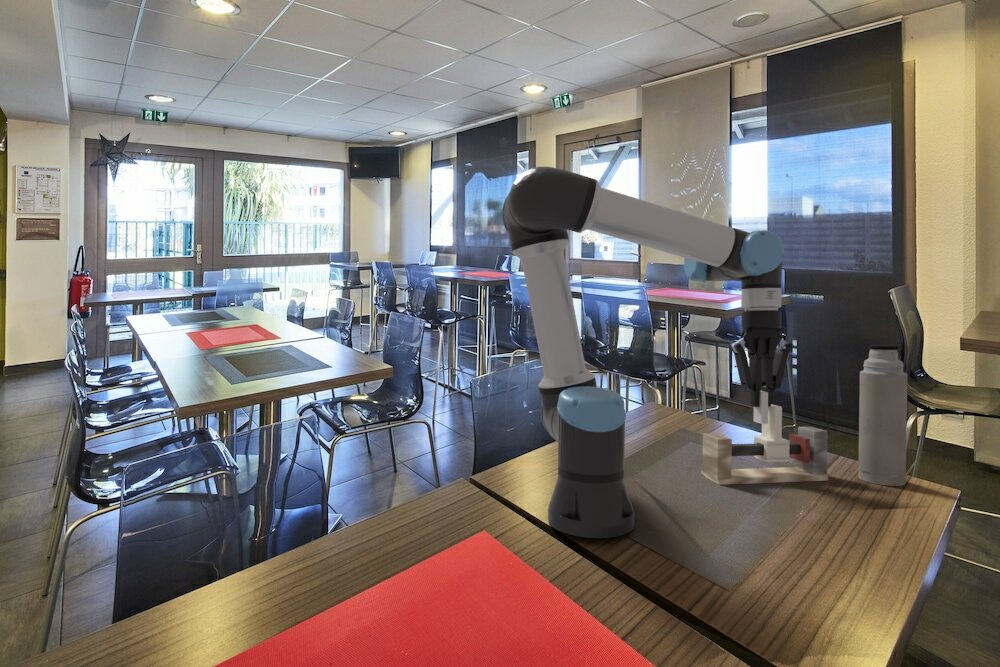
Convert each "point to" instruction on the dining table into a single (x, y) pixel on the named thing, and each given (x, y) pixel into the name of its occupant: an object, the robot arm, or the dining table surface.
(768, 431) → the cream t-shaped block
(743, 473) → the rail
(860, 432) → the thermos bottle
